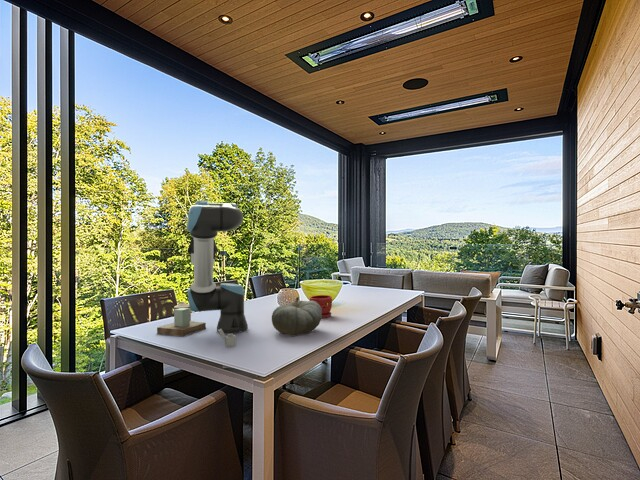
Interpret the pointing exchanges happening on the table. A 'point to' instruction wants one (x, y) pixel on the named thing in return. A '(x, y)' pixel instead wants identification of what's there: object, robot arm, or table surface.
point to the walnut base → (181, 329)
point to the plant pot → (323, 304)
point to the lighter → (228, 339)
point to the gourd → (297, 317)
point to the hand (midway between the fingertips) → (202, 264)
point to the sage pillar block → (182, 317)
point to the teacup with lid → (182, 305)
